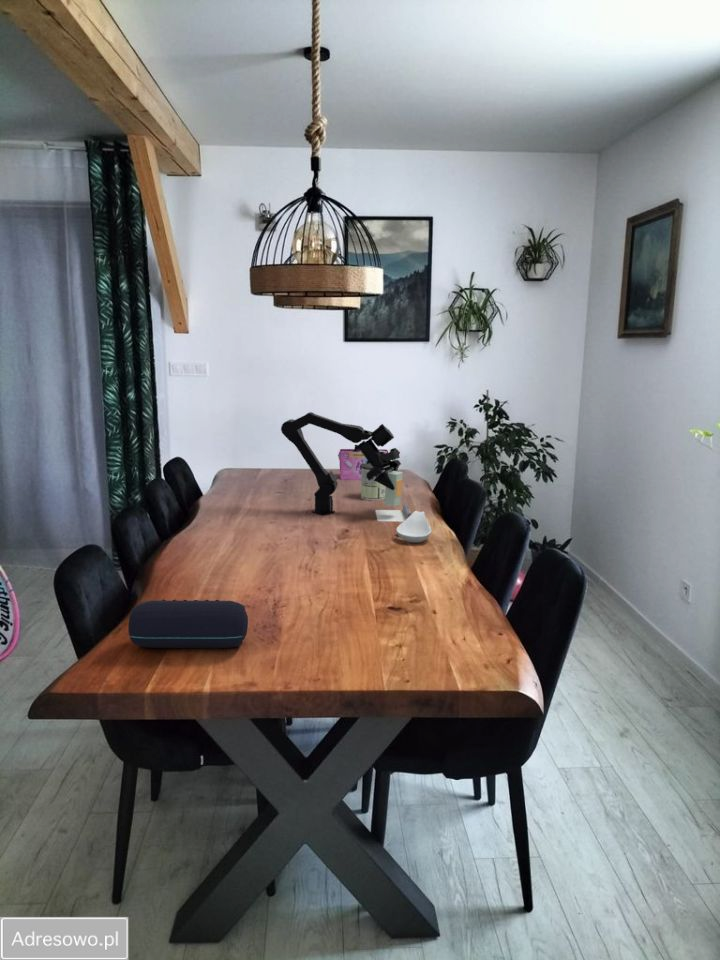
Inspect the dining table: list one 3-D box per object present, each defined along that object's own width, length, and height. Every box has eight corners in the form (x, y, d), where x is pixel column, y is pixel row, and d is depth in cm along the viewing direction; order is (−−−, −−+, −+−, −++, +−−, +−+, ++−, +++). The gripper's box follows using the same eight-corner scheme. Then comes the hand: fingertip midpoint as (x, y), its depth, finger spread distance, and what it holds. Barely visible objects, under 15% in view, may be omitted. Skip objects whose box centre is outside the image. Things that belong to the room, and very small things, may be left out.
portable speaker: (251, 635, 150) (250, 593, 148) (245, 656, 141) (245, 611, 139) (139, 635, 149) (136, 593, 147) (125, 656, 140) (122, 611, 137)
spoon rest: (428, 547, 217) (429, 526, 215) (393, 544, 219) (393, 523, 217) (436, 527, 239) (437, 508, 238) (403, 525, 242) (404, 506, 240)
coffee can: (361, 494, 286) (362, 462, 283) (385, 495, 285) (386, 463, 282) (359, 500, 276) (360, 466, 273) (384, 501, 275) (385, 467, 272)
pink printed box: (337, 479, 314) (338, 451, 312) (337, 476, 322) (337, 448, 319) (388, 480, 316) (388, 451, 313) (386, 476, 324) (387, 449, 321)
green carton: (394, 506, 244) (397, 474, 241) (384, 504, 246) (386, 473, 243) (401, 503, 249) (403, 472, 246) (390, 501, 251) (393, 470, 248)
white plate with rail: (411, 523, 243) (411, 513, 242) (377, 523, 242) (377, 513, 241) (406, 512, 258) (407, 502, 257) (375, 511, 258) (375, 502, 257)
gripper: (375, 444, 236) (401, 479, 233) (398, 438, 252) (422, 471, 250) (355, 463, 241) (380, 497, 239) (378, 456, 257) (401, 488, 255)
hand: (397, 488), depth 245 cm, fingers closed on green carton, 5 cm apart
